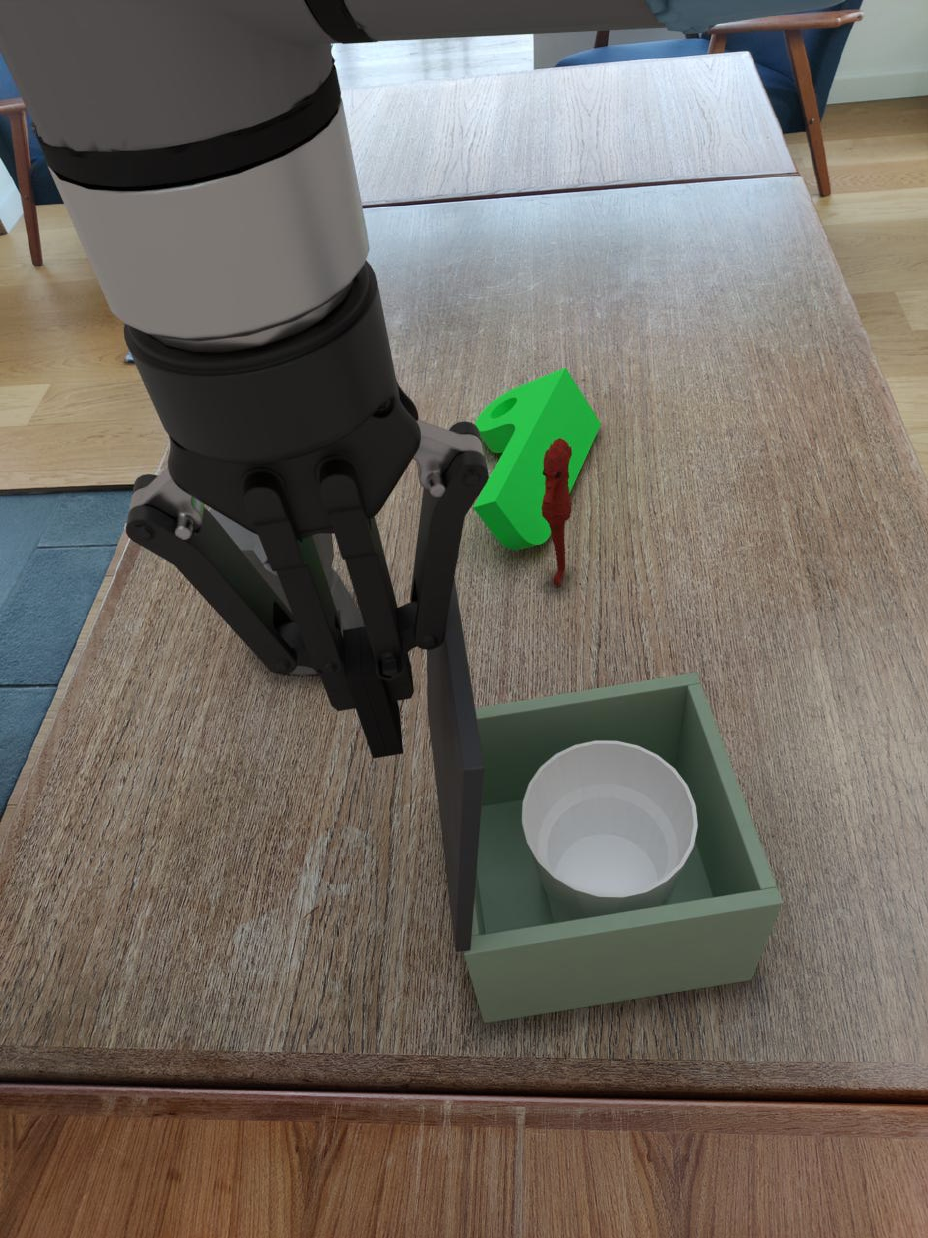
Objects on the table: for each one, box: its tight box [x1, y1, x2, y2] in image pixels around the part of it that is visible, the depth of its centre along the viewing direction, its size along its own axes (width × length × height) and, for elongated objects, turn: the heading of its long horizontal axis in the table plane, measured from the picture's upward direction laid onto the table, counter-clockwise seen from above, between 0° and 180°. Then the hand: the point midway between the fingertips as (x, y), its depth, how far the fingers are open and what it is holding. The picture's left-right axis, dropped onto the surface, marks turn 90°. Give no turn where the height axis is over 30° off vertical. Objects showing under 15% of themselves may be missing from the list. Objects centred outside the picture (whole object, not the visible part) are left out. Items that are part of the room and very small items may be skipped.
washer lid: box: [426, 577, 485, 953], centre depth 44 cm, size 18×15×1 cm
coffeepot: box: [209, 507, 364, 677], centre depth 71 cm, size 15×9×18 cm, turn 16°
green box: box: [463, 671, 784, 1024], centre depth 55 cm, size 17×15×12 cm
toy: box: [541, 438, 573, 587], centre depth 73 cm, size 2×5×15 cm, turn 159°
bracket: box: [472, 367, 602, 551], centre depth 86 cm, size 20×10×7 cm
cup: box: [522, 741, 698, 923], centre depth 55 cm, size 10×10×10 cm
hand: (386, 732), depth 43 cm, fingers closed
